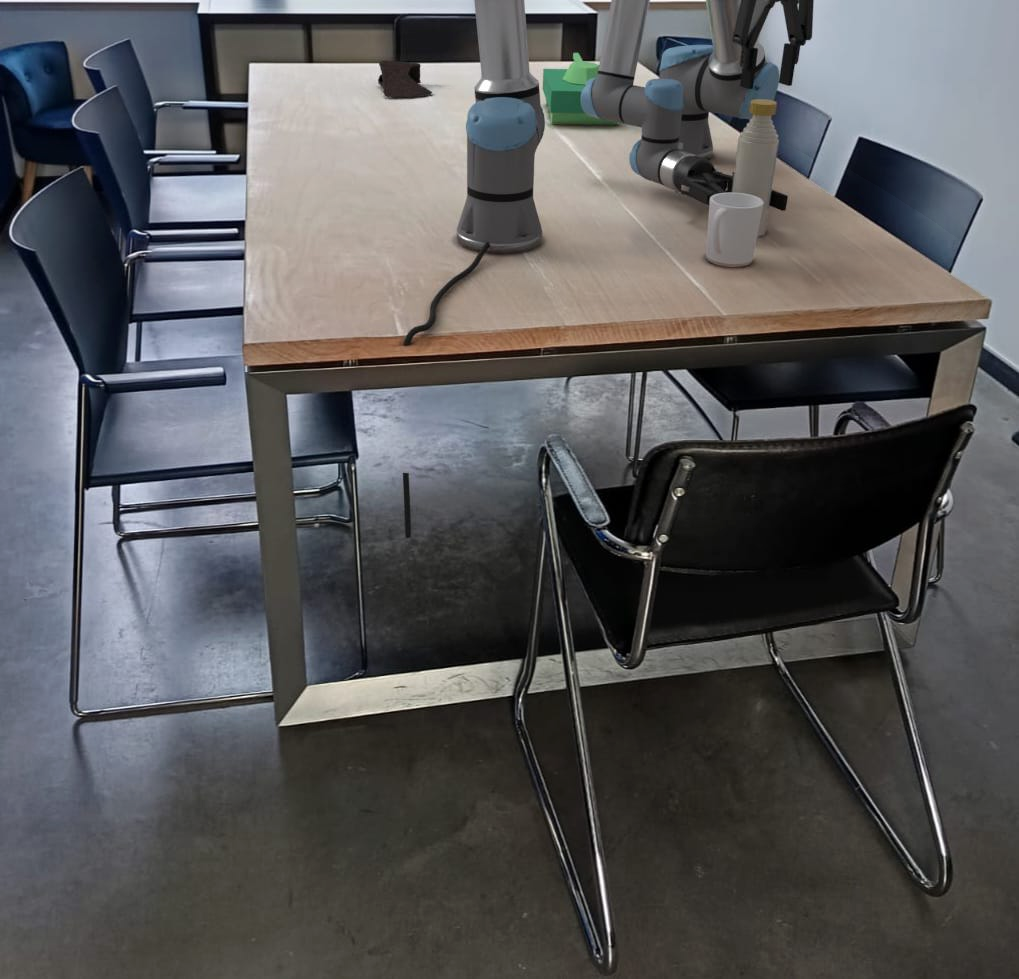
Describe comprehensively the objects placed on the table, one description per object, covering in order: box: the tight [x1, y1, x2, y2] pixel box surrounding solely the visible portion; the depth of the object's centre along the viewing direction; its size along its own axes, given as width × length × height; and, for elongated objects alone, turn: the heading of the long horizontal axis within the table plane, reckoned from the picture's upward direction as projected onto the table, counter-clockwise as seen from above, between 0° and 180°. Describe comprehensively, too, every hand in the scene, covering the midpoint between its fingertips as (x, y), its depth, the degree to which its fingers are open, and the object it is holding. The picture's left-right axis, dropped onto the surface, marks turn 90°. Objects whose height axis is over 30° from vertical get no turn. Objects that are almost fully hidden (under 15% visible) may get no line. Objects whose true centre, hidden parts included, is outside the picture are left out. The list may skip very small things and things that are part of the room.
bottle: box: [732, 114, 780, 238], centre depth 197 cm, size 7×7×23 cm
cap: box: [749, 99, 778, 117], centre depth 192 cm, size 5×5×2 cm
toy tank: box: [542, 52, 619, 126], centre depth 280 cm, size 18×12×35 cm
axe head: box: [377, 59, 433, 99], centre depth 299 cm, size 18×8×15 cm
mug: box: [705, 193, 764, 268], centre depth 186 cm, size 11×9×10 cm
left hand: (765, 85), depth 190 cm, fingers open, 8 cm apart
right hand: (768, 206), depth 197 cm, fingers closed on bottle, 7 cm apart
